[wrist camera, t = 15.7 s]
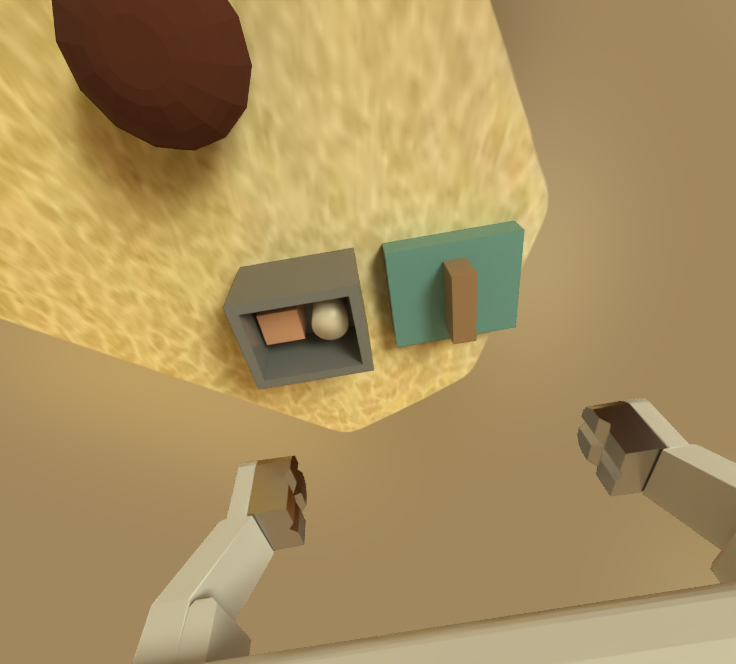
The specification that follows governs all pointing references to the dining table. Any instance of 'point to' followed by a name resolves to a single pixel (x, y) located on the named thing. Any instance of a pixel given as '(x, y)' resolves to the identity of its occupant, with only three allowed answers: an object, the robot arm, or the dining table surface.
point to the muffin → (159, 65)
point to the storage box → (300, 319)
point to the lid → (454, 283)
